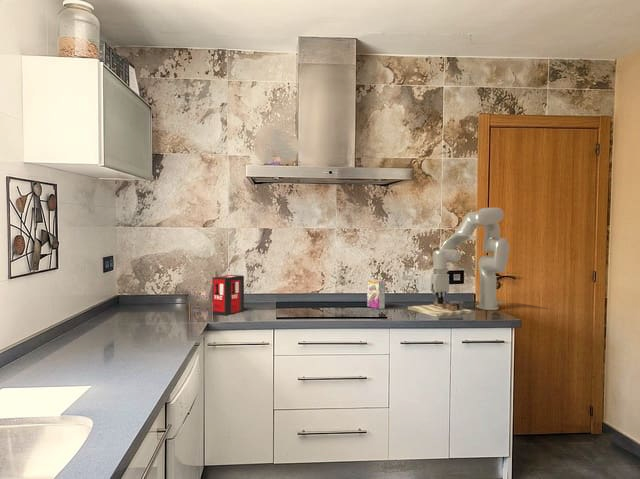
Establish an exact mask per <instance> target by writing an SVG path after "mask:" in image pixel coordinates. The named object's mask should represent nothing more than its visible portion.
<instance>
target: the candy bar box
mask: <svg viewBox="0 0 640 479" xmlns="http://www.w3.org/2000/svg"><path fill="white" fill-rule="evenodd" d="M366 287H367V288H366V292H367V293H366V307H368V308H371V309H376V310H383V309H385V308H386V307H385V303H386V300H385V299H386V281H385V280H381V279H374V278H372V279H367V280H366Z"/></svg>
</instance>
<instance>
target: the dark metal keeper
mask: <svg viewBox="0 0 640 479" xmlns="http://www.w3.org/2000/svg"><path fill="white" fill-rule="evenodd" d="M447 303H448V304H452V305H456V306H457V310H463V308H464V303H465V302H464V301H461V300H453V301H447Z"/></svg>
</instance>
